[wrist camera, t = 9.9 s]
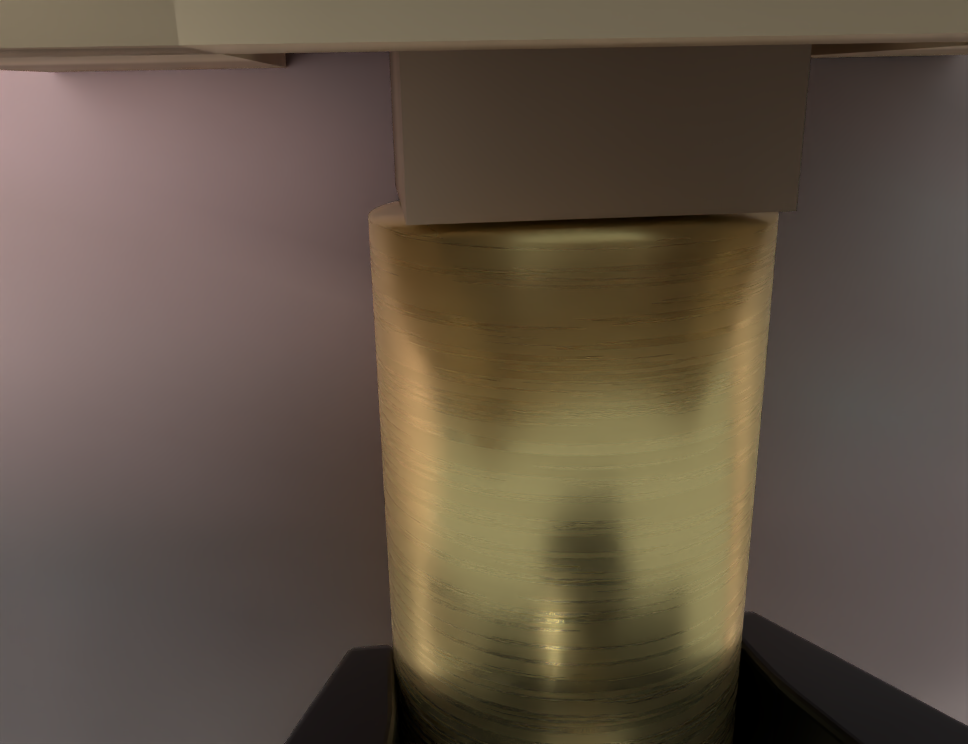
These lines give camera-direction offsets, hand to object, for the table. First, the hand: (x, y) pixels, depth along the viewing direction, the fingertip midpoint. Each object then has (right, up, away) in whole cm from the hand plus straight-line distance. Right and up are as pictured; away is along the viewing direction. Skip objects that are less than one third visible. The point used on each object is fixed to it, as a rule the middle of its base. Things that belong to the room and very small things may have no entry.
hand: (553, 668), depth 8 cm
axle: (0, 0, +1) cm, 1 cm away
